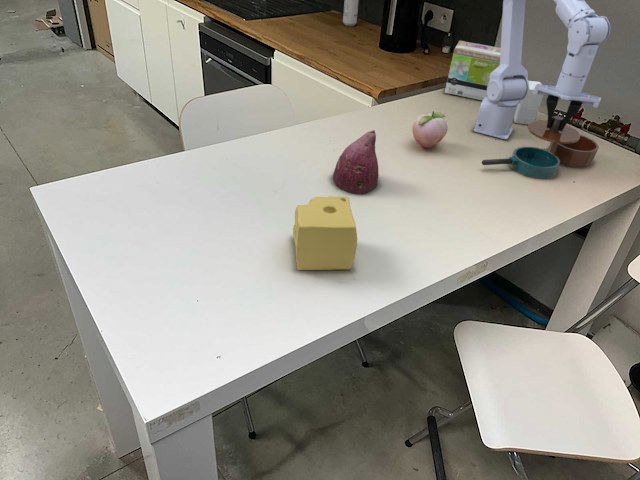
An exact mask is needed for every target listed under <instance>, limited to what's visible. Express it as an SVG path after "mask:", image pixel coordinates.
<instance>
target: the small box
mask: <svg viewBox="0 0 640 480" xmlns="http://www.w3.org/2000/svg"><path fill="white" fill-rule="evenodd" d="M528 82H529V92H528V95H527V96H526V98H524V99H523V100H521V103H520V104H518V105H517V109H516V112H515V115H514V118H513V122H514V123H515V124H519V125H520V124H521V125H527V126H528V125H529V123H531V122H533V121H537V117H538V114H539V111H540V108H541V104H542V101H543V99H544V95H540V94H537V95H536V94H533V91H534V88H535V86H536V84H541V85H543V84H542V82H541V81H534V80H528Z"/></svg>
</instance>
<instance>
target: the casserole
mask: <svg viewBox="0 0 640 480" xmlns="http://www.w3.org/2000/svg"><path fill="white" fill-rule="evenodd" d="M599 147H600V146H599V144H598V142H596V141H595V140H594V139H593V138H590V137H588V136H586V135H583V134H580V139H579V140H578V141H577V142H575V143H570V144H561V143H554V142H549V145H548V148H547V151H549V152H551V153H553V154H555V155H556V156H557V157H558V158H559V160H560V164H559V165H562V166H565V167H569V168H573V169H585V168H586V169H587V168H588V167H590V166H592V165H593V162H594V161H595V157H596V155H597V153H598V150H599Z"/></svg>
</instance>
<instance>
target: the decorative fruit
mask: <svg viewBox="0 0 640 480" xmlns="http://www.w3.org/2000/svg"><path fill="white" fill-rule="evenodd" d="M445 118H446V115H445V114H444V113H442V112H438V111H437V112H435V111H434V110H433V111H432V112H431V113H429V112H427V113H423V114H421V115H419V116H418V117H416V119H415V120H414V121H413V124H412V128H411V132H412V135H413V138H414V140H415V141H416V143H417V144H418V145H420V146H421V147H424V148H431V147H433V146H435V145H437V144H439V143H440V142H441V141H442V140H443V139H444V138H445V137H446V135H447V133H448V130H449V127H448V123H447V121H446V119H445Z"/></svg>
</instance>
